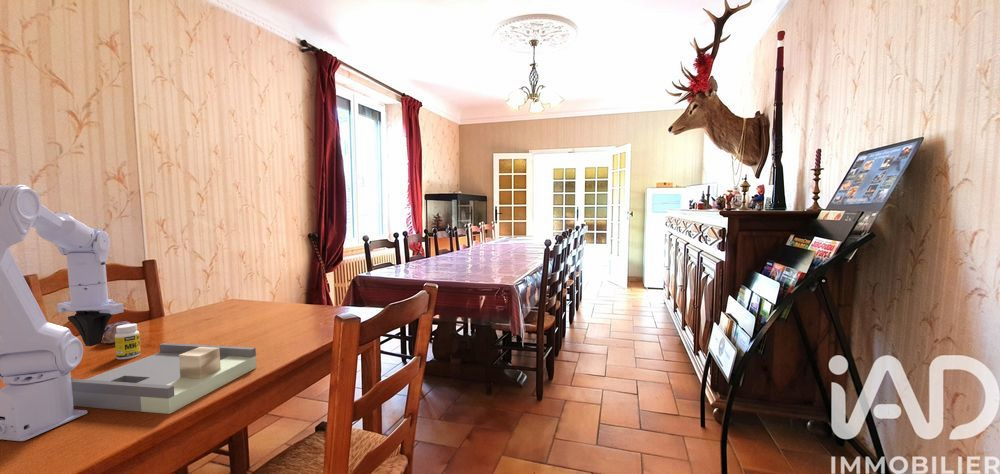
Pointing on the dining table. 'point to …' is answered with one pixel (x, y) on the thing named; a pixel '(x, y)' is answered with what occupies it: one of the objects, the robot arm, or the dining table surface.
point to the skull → (111, 332)
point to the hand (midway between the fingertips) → (93, 344)
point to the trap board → (159, 381)
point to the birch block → (199, 362)
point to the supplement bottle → (127, 341)
